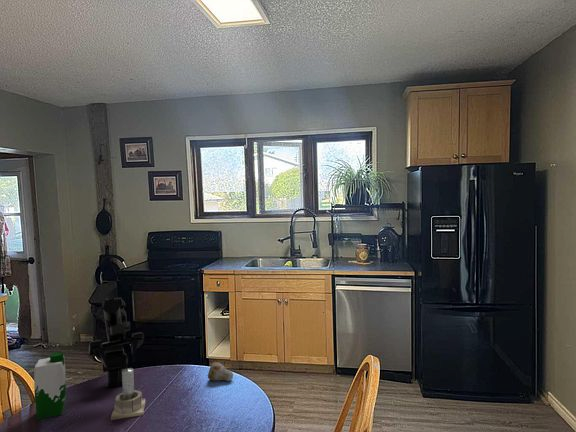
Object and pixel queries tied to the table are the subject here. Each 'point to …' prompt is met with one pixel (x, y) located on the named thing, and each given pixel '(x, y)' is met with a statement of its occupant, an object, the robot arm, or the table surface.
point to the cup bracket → (128, 406)
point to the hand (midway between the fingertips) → (120, 364)
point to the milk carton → (50, 386)
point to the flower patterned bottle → (219, 372)
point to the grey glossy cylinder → (128, 384)
